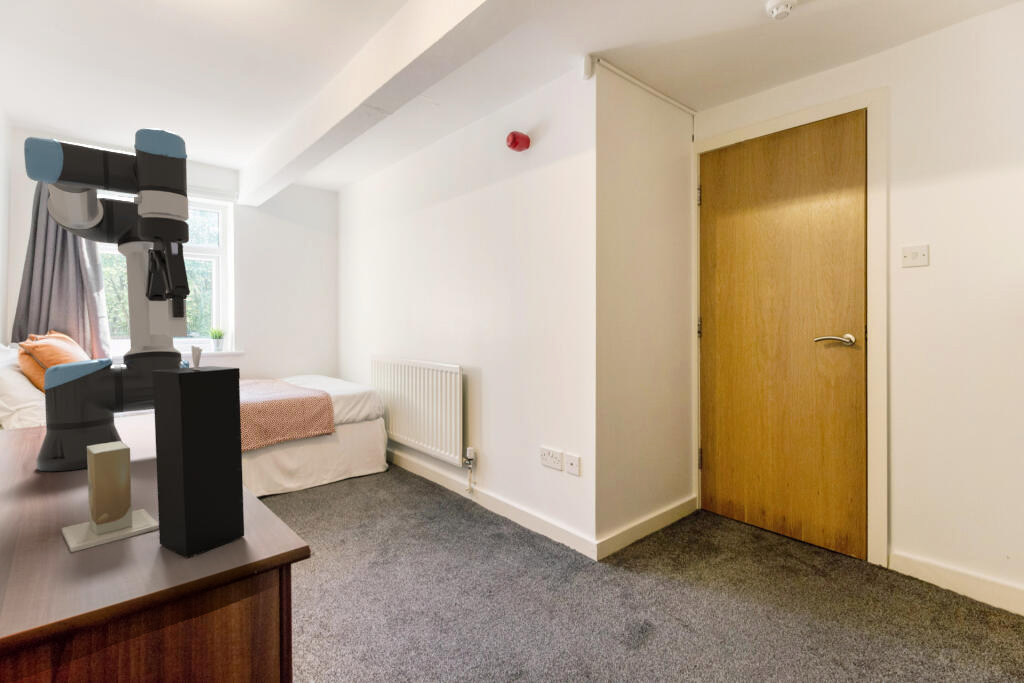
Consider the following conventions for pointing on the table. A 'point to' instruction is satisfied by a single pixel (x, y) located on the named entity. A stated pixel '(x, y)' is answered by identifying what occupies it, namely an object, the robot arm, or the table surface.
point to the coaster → (86, 537)
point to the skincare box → (109, 487)
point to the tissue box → (198, 456)
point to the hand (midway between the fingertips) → (167, 335)
